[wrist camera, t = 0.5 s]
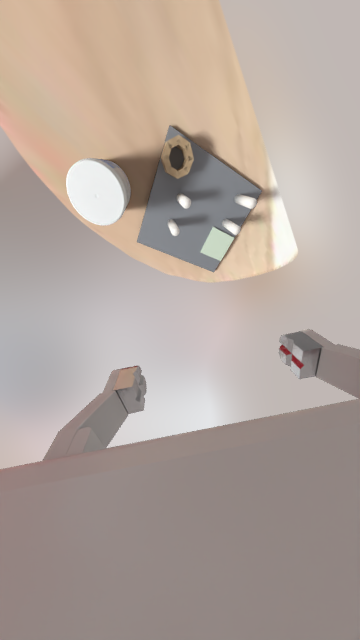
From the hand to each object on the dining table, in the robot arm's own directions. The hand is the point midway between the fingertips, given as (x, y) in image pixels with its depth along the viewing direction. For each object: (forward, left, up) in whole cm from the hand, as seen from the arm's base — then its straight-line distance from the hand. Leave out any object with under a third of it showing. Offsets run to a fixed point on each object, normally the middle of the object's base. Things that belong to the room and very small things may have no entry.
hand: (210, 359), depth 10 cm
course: (-3, +10, -47) cm, 48 cm away
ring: (-11, 0, -46) cm, 47 cm away
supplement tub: (0, -12, -47) cm, 49 cm away
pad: (+1, +19, -46) cm, 50 cm away
